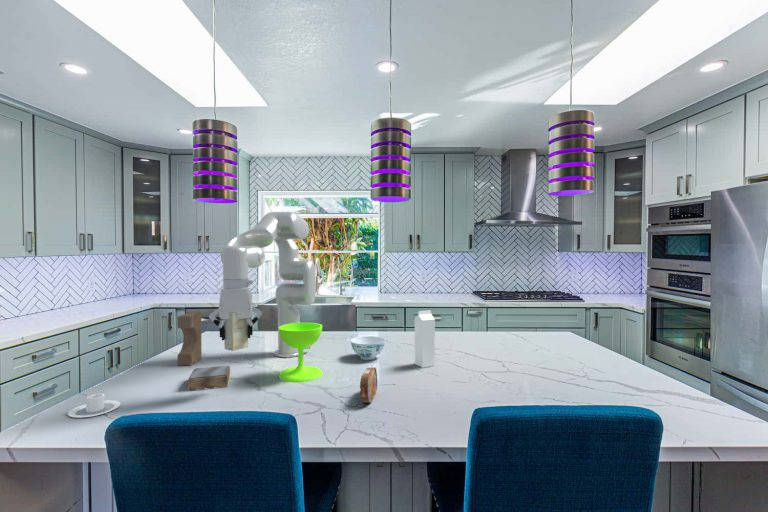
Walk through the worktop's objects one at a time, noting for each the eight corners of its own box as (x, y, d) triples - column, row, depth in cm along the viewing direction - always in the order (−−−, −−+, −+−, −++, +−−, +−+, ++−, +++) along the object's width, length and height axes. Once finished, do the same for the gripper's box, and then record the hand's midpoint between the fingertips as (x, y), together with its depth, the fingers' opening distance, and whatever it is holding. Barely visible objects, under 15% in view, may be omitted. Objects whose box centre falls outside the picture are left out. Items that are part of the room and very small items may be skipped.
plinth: (229, 375, 140) (229, 364, 140) (227, 386, 128) (227, 374, 128) (193, 379, 136) (193, 368, 136) (188, 390, 124) (188, 378, 124)
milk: (414, 363, 155) (414, 310, 155) (427, 362, 157) (426, 309, 157) (422, 367, 149) (422, 312, 149) (435, 365, 152) (434, 311, 152)
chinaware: (391, 356, 166) (391, 338, 166) (372, 364, 153) (372, 345, 153) (363, 351, 174) (364, 334, 174) (343, 359, 161) (343, 341, 161)
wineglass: (331, 374, 141) (331, 326, 141) (294, 385, 129) (294, 333, 129) (306, 365, 152) (306, 321, 152) (270, 375, 140) (270, 326, 140)
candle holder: (103, 419, 104) (103, 403, 104) (56, 420, 103) (56, 405, 103) (128, 402, 116) (128, 388, 116) (87, 403, 115) (87, 389, 115)
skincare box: (232, 351, 120) (232, 313, 120) (223, 349, 122) (223, 312, 122) (249, 347, 125) (248, 310, 125) (240, 345, 128) (239, 309, 127)
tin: (369, 407, 111) (369, 379, 111) (358, 406, 112) (358, 378, 112) (378, 389, 126) (378, 364, 126) (368, 388, 127) (368, 363, 127)
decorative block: (191, 365, 152) (191, 316, 152) (176, 366, 151) (176, 316, 151) (202, 358, 163) (202, 311, 163) (188, 358, 162) (188, 312, 162)
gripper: (263, 282, 129) (264, 333, 130) (207, 284, 124) (208, 337, 125) (263, 284, 122) (264, 339, 123) (204, 286, 117) (205, 343, 117)
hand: (236, 338), depth 124 cm, fingers closed on skincare box, 7 cm apart
